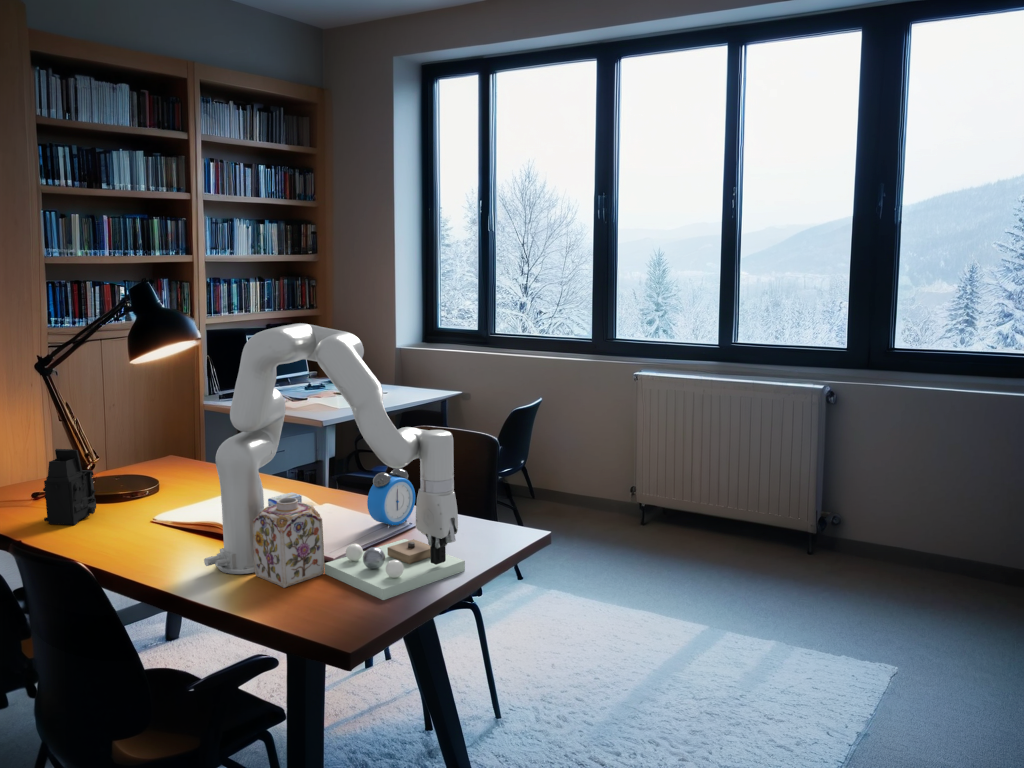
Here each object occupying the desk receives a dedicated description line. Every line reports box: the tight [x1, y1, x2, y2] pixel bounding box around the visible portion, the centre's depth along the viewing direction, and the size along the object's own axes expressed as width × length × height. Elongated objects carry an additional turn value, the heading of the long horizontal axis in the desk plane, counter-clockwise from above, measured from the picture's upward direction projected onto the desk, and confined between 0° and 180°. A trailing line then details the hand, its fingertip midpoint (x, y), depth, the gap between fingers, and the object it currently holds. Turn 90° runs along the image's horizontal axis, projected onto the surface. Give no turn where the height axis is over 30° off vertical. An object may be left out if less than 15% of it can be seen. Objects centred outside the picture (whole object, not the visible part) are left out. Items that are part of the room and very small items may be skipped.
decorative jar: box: [253, 498, 325, 589], centre depth 198 cm, size 12×12×18 cm
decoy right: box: [386, 560, 404, 578], centre depth 191 cm, size 4×4×4 cm
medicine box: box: [267, 492, 303, 507], centre depth 232 cm, size 8×4×9 cm, turn 141°
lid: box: [388, 538, 431, 564], centre depth 204 cm, size 8×8×3 cm
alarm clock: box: [366, 467, 416, 527], centre depth 235 cm, size 13×6×15 cm, turn 143°
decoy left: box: [345, 543, 364, 561], centre depth 201 cm, size 4×4×4 cm
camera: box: [42, 448, 97, 526], centre depth 239 cm, size 10×14×20 cm
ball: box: [363, 546, 385, 570], centre depth 196 cm, size 5×5×5 cm
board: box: [324, 538, 466, 601], centre depth 201 cm, size 24×22×2 cm
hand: (438, 562), depth 197 cm, fingers closed
